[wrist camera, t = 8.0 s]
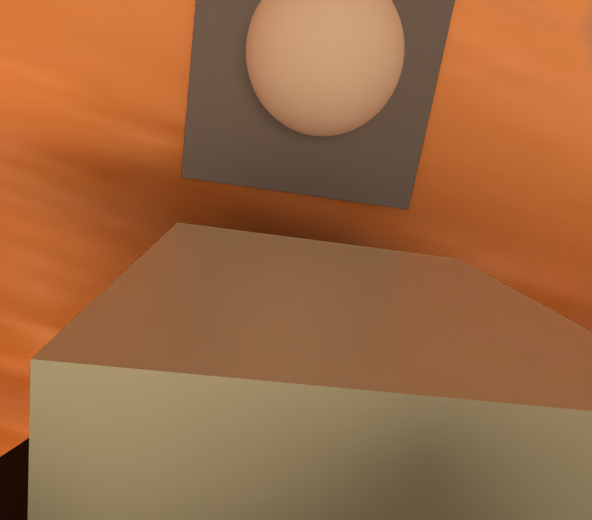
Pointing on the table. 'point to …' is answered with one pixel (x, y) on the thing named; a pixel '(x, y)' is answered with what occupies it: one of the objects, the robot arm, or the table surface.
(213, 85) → the thin dark grey panel
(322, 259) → the beige cuboid
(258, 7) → the ball
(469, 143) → the table surface
